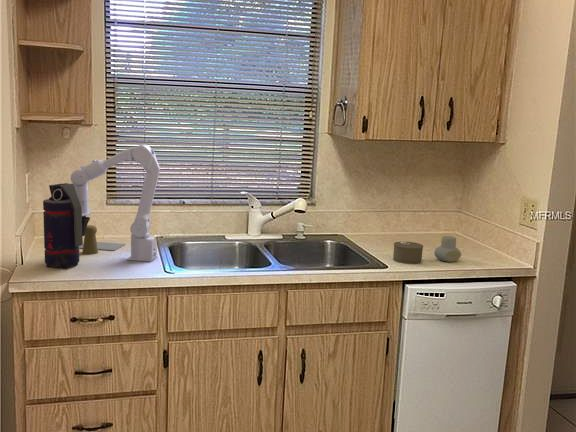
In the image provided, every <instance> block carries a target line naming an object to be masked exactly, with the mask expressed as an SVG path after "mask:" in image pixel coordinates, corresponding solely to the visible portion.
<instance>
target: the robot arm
mask: <svg viewBox="0 0 576 432" xmlns="http://www.w3.org/2000/svg"><path fill="white" fill-rule="evenodd" d="M124 161H134V162H137V163H138V164H140V165H141V166H142V168H143V169H144V170H145V172H146V173H145V178H144V181H143V187H142V191H141V195H140V199H139V204H138V207H137V211H136V214H135V218H134V221H133V223H132V224H131V225H130V232H131V234H130V256H129V257H128V258H127V261H138V262H139V261H140V262H152V261H154V260H155V259H156V258H158V256H157V252H158V251H157V249H158V248H157V243H158V242H157V241H158V240H157V237H154V236H151V234H150V232H149V230H150V229H151V222H150V218H151V211H152V206H153V203H154V202H153V201H154V198H155V193H156V189H157V184H158V179H159V175H160V170H161V166H160V164H159V162H158V159H157V156H156V152H155V151H154V150H153V149H152V147H151V146H150V145H148V144H145V143H141V144H139V145H137V146H134V147H130V148H126V149H123V150H122V151H120V152H119V153H116V154H115V155H113V156H111V157H109V158H107V159H105V160H101V159H93V160H92V161H91V163H89V164H87V165H82V166H80V169H76V170H74V171H72V173H71V175H70V181H71V184H74V187H75V190H76V194H77V197H78V199H79V202H80V204H81V208H82V235H83V237H84V236H85V231H86V227H87V225H88V223H89V222H90V219H91V217H90V215H92V209H90V207H89V187H88V186H89V183H88V182H90V181H93V180H95V179H97V178H99V177H101V176H103V175H105V174H107V171H108V170H109V168H112V167H113V166H116V165H118V164H120V163H122V162H124Z"/></svg>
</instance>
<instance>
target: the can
mask: <svg viewBox="0 0 576 432" xmlns="http://www.w3.org/2000/svg"><path fill="white" fill-rule="evenodd" d="M423 248H424V245H423V244H422V243H419V242H412V241H395V242H394V243H393V257H392V261H394V262H397V263H399V264H406V265H418V264H419V265H420V264H421V263H422V258H423Z"/></svg>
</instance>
